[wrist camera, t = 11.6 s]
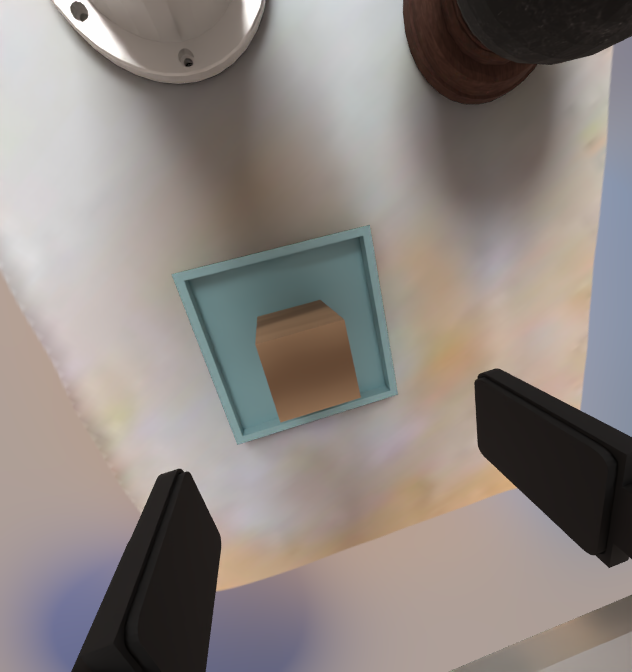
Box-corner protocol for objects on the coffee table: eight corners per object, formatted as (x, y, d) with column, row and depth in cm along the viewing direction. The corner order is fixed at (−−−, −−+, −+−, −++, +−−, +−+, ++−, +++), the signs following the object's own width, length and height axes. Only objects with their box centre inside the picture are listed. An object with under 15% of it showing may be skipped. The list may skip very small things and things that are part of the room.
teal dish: (179, 272, 21) (171, 274, 19) (360, 227, 23) (369, 224, 21) (239, 430, 26) (237, 444, 24) (388, 384, 27) (398, 394, 25)
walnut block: (257, 316, 22) (255, 344, 16) (320, 299, 23) (344, 319, 16) (275, 374, 24) (280, 422, 17) (333, 357, 24) (360, 397, 18)
